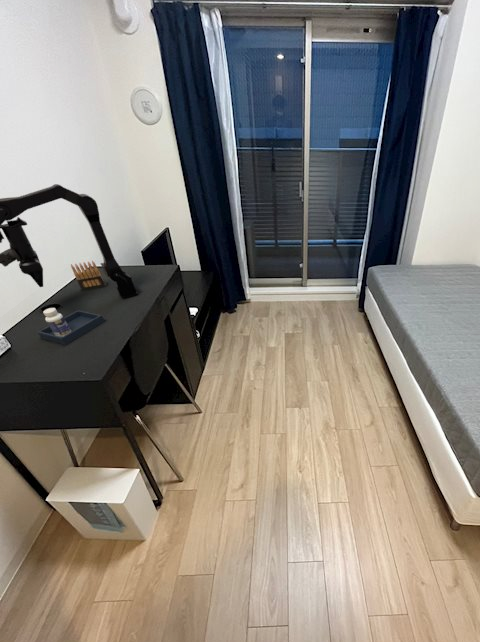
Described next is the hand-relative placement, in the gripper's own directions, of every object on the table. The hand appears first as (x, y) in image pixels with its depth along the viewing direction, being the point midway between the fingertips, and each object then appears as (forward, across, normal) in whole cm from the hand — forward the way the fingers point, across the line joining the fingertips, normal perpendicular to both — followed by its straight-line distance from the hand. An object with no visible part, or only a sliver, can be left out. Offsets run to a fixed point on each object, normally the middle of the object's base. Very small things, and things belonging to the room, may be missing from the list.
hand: (40, 283), depth 126 cm
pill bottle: (+14, +18, 0) cm, 23 cm away
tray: (+14, +17, +4) cm, 22 cm away
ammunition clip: (+14, -21, +18) cm, 31 cm away
